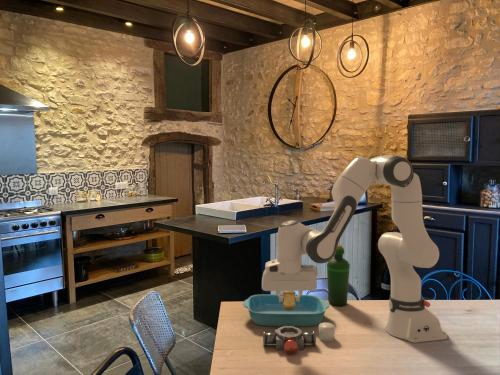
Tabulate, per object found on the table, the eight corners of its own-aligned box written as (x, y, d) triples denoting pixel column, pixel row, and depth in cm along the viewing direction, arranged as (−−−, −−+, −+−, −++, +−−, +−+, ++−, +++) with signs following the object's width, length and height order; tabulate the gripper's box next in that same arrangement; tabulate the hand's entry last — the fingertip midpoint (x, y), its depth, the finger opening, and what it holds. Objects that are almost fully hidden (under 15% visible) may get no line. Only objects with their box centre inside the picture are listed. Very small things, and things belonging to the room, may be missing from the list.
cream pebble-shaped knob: (332, 334, 157) (332, 322, 157) (336, 342, 151) (336, 329, 151) (317, 334, 157) (317, 322, 157) (320, 342, 151) (320, 329, 151)
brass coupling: (294, 305, 150) (294, 290, 149) (296, 310, 145) (296, 294, 145) (282, 305, 150) (282, 290, 149) (283, 310, 145) (283, 294, 145)
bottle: (352, 301, 190) (353, 244, 188) (344, 309, 182) (345, 249, 179) (331, 297, 196) (331, 241, 194) (322, 304, 187) (323, 246, 185)
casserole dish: (323, 308, 184) (323, 293, 183) (333, 329, 162) (333, 312, 161) (243, 308, 184) (243, 293, 184) (242, 330, 162) (242, 313, 161)
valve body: (312, 338, 153) (312, 325, 153) (318, 355, 141) (318, 340, 141) (262, 339, 153) (262, 326, 153) (264, 355, 141) (264, 341, 141)
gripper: (316, 262, 149) (315, 298, 151) (261, 262, 149) (261, 298, 151) (319, 267, 143) (318, 304, 144) (262, 267, 143) (262, 305, 144)
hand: (289, 301), depth 147 cm, fingers closed on brass coupling, 5 cm apart
